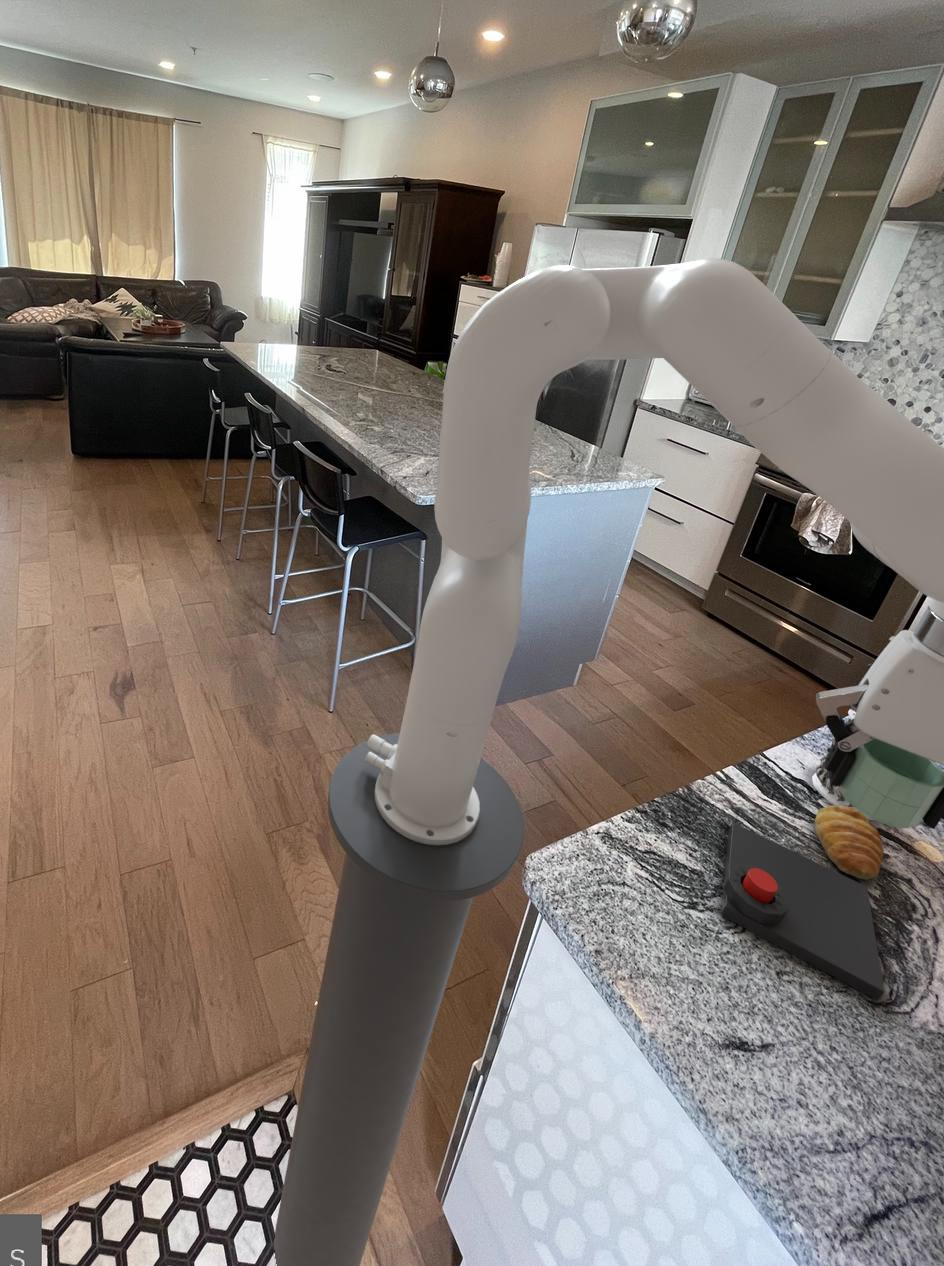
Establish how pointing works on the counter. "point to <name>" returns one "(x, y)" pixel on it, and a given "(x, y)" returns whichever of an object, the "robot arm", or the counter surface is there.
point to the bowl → (892, 784)
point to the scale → (804, 910)
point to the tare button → (760, 885)
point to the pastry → (850, 841)
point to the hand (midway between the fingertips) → (878, 796)
